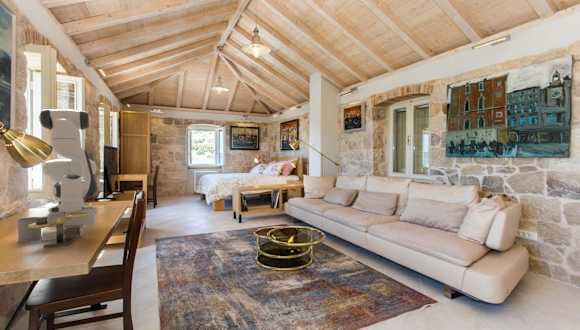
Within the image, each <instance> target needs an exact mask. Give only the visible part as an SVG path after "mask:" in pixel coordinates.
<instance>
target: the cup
mask: <svg viewBox="0 0 580 330" xmlns="http://www.w3.org/2000/svg"><path fill="white" fill-rule="evenodd" d="M37 217H38V216H30V217H23V218H19V219H17V233H18V234H17V236H18V237H17V241H18V242H31V241H35V240H39V239H42V228H28V225H30V224H33V223H36V218H37Z"/></svg>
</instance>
